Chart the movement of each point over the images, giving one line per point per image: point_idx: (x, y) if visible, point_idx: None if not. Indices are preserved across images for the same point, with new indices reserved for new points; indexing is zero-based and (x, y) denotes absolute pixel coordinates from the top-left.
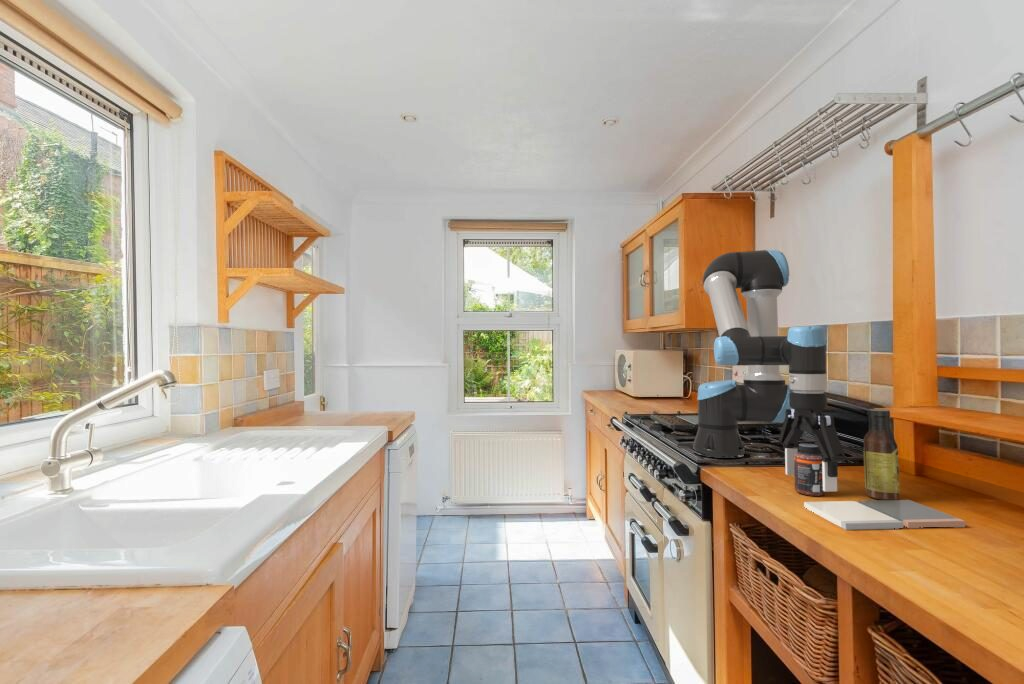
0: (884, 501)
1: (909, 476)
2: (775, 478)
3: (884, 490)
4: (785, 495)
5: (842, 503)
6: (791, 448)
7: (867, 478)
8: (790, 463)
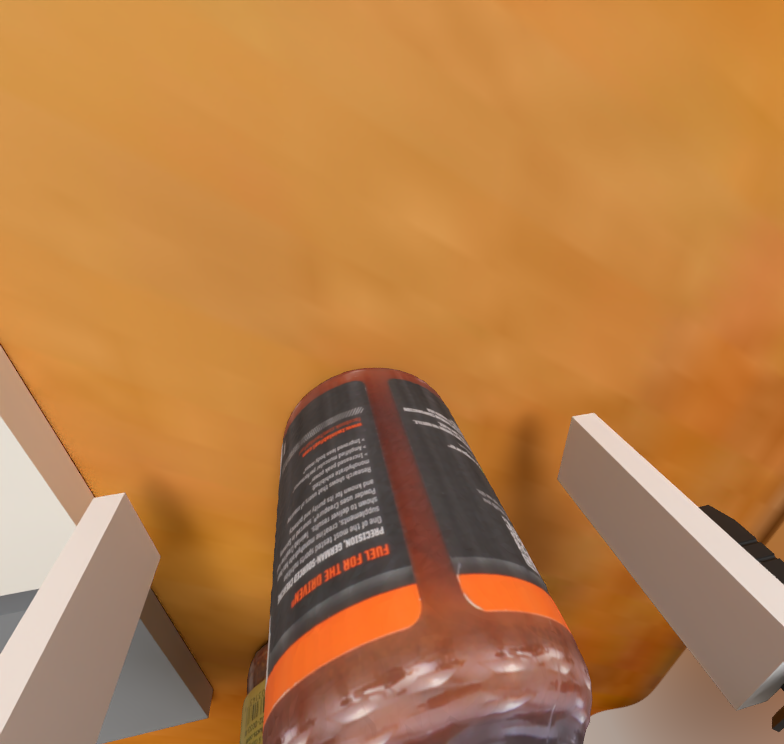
0: (148, 663)
1: None
2: (673, 368)
3: (244, 707)
4: (304, 253)
5: (6, 510)
6: (780, 677)
7: None
8: (632, 508)
